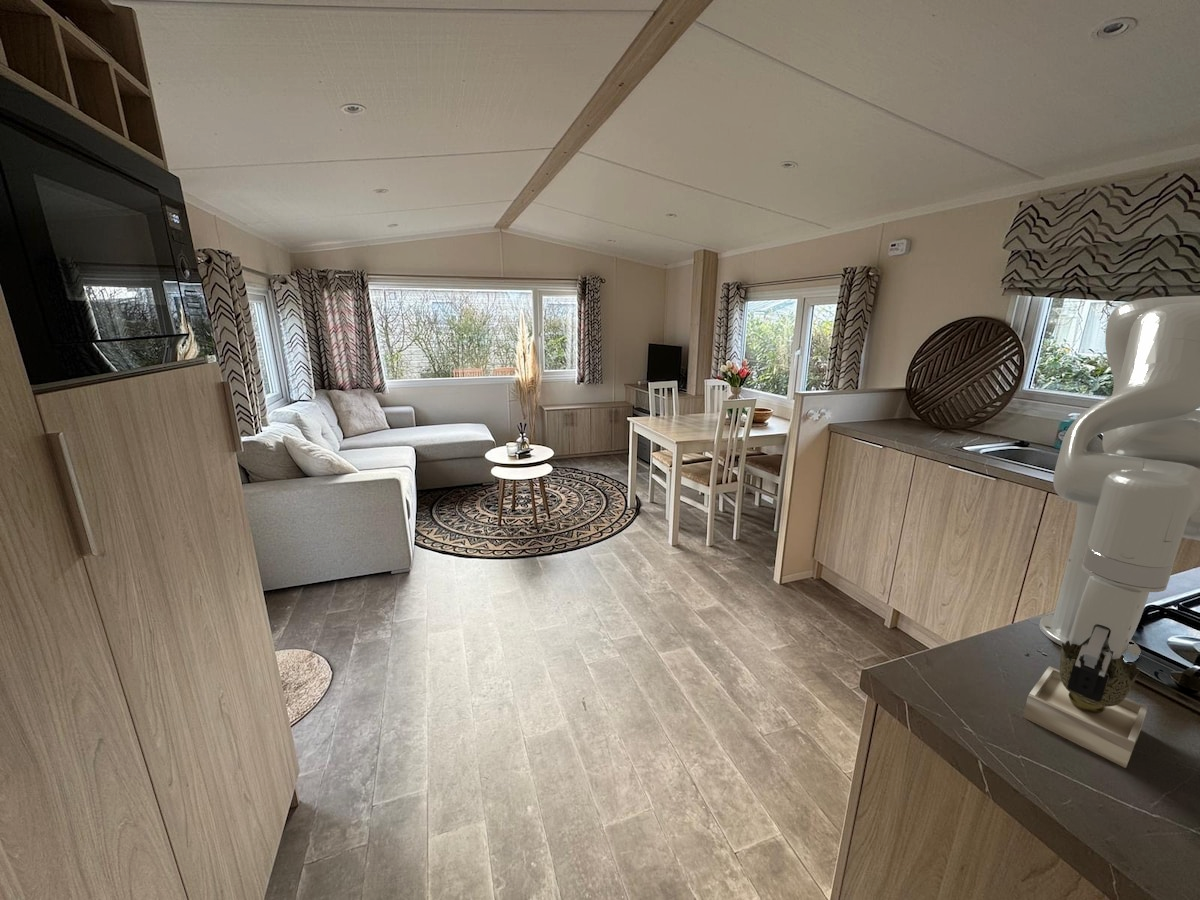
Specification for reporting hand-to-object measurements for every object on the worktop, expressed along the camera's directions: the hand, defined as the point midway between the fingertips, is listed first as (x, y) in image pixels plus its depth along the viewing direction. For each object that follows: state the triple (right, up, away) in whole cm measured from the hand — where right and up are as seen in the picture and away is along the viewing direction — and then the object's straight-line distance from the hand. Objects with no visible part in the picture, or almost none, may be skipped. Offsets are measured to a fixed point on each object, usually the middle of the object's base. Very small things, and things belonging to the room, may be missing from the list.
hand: (1092, 678), depth 66 cm
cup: (0, -5, +1) cm, 5 cm away
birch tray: (0, -7, +1) cm, 7 cm away
